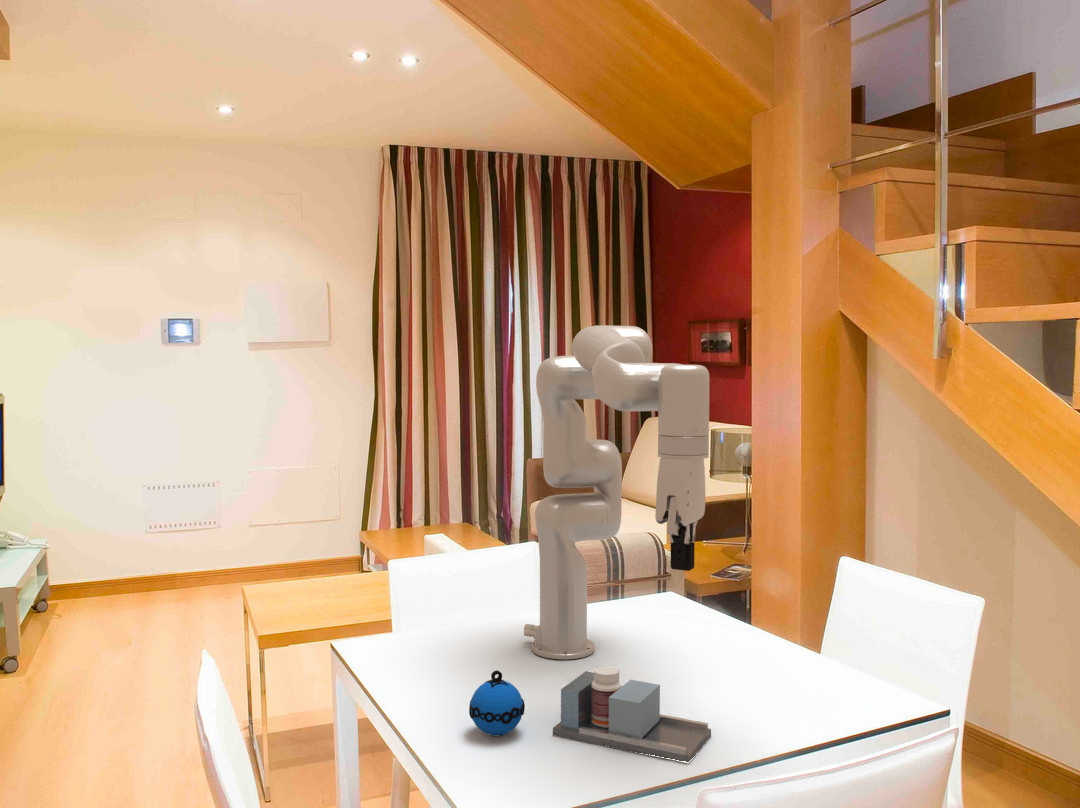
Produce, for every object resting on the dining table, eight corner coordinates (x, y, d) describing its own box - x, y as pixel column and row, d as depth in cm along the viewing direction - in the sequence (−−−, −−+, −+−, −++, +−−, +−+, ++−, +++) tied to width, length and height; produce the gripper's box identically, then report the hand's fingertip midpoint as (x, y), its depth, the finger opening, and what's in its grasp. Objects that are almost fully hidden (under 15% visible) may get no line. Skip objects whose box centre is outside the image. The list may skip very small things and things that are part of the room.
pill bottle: (619, 729, 141) (620, 676, 140) (589, 727, 142) (589, 674, 141) (623, 718, 145) (623, 666, 145) (593, 715, 146) (593, 664, 146)
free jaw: (608, 734, 138) (608, 697, 138) (630, 714, 146) (630, 679, 146) (639, 740, 136) (639, 703, 136) (659, 720, 144) (659, 684, 143)
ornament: (480, 749, 136) (480, 683, 136) (462, 728, 144) (462, 666, 144) (533, 739, 140) (533, 675, 139) (512, 719, 148) (512, 659, 147)
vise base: (552, 735, 141) (552, 689, 141) (582, 711, 151) (582, 668, 151) (688, 764, 131) (689, 715, 131) (711, 736, 141) (711, 690, 141)
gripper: (675, 442, 144) (674, 557, 145) (641, 450, 131) (640, 576, 131) (722, 444, 140) (721, 562, 141) (691, 452, 127) (690, 582, 128)
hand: (682, 568), depth 136 cm, fingers closed
